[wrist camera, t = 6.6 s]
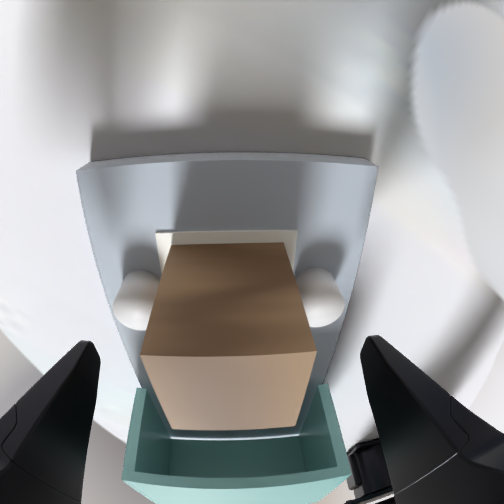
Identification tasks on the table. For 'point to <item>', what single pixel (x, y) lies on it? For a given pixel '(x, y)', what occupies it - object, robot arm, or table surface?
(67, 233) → the table surface
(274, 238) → the grey flat rectangular block
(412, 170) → the table surface
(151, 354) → the block
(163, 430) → the block
